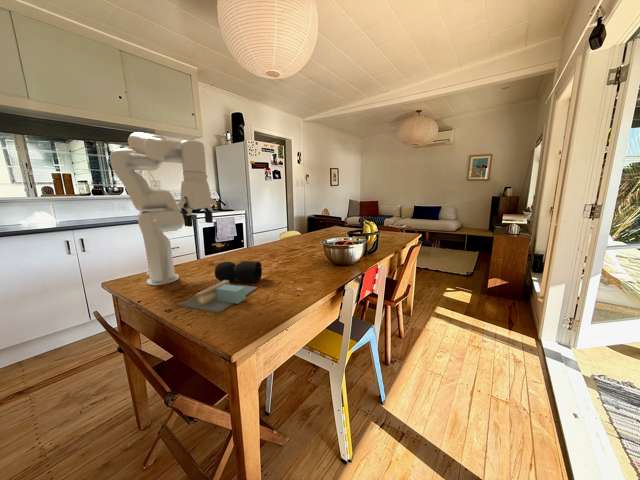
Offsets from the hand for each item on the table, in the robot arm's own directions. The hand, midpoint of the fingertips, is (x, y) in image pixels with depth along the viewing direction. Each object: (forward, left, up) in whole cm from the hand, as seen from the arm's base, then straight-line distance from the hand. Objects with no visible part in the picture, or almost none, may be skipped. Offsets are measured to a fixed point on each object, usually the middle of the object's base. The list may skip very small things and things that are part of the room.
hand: (199, 224), depth 95 cm
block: (+10, -3, -25) cm, 27 cm away
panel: (+8, -1, -28) cm, 29 cm away
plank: (+7, -3, -28) cm, 28 cm away
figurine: (+4, +15, -28) cm, 32 cm away
